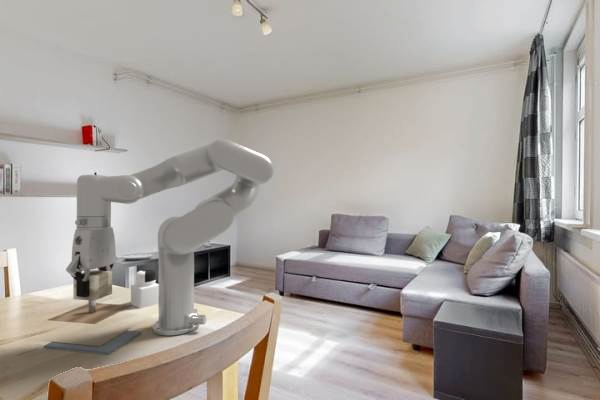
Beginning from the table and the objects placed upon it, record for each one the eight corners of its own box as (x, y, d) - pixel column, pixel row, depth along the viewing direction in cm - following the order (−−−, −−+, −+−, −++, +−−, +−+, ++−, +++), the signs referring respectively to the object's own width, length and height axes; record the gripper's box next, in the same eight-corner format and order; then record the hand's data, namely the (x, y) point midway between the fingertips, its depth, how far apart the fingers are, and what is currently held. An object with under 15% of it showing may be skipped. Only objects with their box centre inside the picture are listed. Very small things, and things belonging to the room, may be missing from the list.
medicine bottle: (151, 300, 118) (151, 267, 118) (161, 305, 114) (161, 270, 114) (130, 306, 113) (130, 270, 113) (140, 310, 108) (140, 274, 108)
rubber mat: (141, 333, 90) (140, 331, 90) (108, 354, 79) (108, 352, 79) (83, 328, 93) (83, 326, 93) (43, 348, 82) (43, 345, 82)
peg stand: (132, 307, 111) (132, 292, 111) (94, 326, 95) (94, 308, 95) (90, 304, 114) (90, 289, 113) (47, 322, 98) (47, 304, 98)
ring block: (112, 293, 88) (112, 271, 88) (94, 300, 82) (94, 276, 82) (92, 292, 89) (92, 270, 89) (73, 299, 83) (73, 275, 83)
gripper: (79, 226, 76) (78, 304, 77) (129, 221, 93) (129, 284, 94) (51, 225, 78) (50, 302, 78) (106, 220, 95) (105, 283, 95)
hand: (93, 292), depth 86 cm, fingers closed on ring block, 6 cm apart
